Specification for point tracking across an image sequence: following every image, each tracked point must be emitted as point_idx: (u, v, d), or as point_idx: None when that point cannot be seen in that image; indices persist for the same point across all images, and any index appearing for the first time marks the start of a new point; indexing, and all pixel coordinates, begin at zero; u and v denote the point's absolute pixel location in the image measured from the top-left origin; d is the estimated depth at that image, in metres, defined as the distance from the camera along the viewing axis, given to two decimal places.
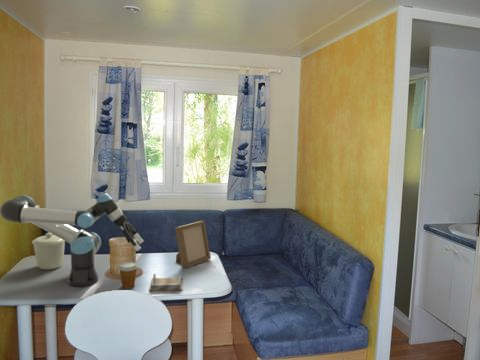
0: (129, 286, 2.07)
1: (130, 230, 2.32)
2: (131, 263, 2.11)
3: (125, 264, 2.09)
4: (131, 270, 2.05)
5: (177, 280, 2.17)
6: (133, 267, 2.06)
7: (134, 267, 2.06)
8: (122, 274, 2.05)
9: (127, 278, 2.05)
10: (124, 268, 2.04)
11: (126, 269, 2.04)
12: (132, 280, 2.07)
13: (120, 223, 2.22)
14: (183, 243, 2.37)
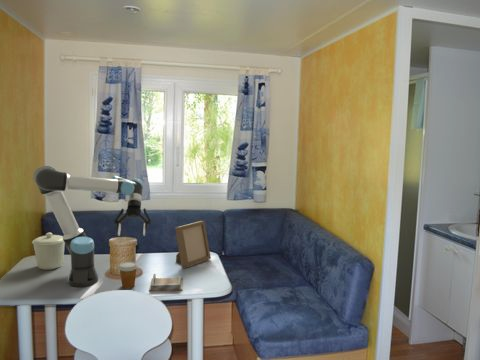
0: (129, 286, 2.07)
1: (125, 218, 2.23)
2: (131, 263, 2.11)
3: (125, 264, 2.09)
4: (131, 270, 2.05)
5: (177, 280, 2.17)
6: (133, 267, 2.06)
7: (134, 267, 2.06)
8: (122, 274, 2.05)
9: (127, 278, 2.05)
10: (124, 268, 2.04)
11: (126, 269, 2.04)
12: (132, 280, 2.07)
13: (140, 207, 2.29)
14: (183, 243, 2.37)
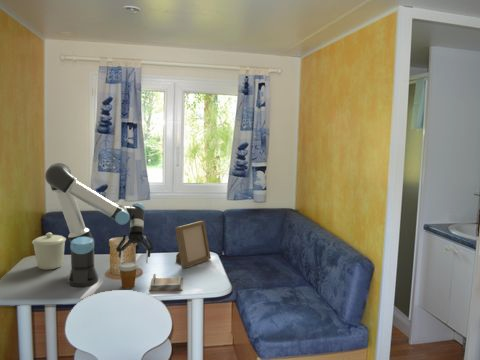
0: (129, 286, 2.07)
1: (127, 245, 2.20)
2: (131, 263, 2.11)
3: (125, 264, 2.09)
4: (131, 270, 2.05)
5: (177, 280, 2.17)
6: (133, 267, 2.06)
7: (134, 267, 2.06)
8: (122, 274, 2.05)
9: (127, 278, 2.05)
10: (124, 268, 2.04)
11: (126, 269, 2.04)
12: (132, 280, 2.07)
13: (142, 233, 2.26)
14: (183, 243, 2.37)
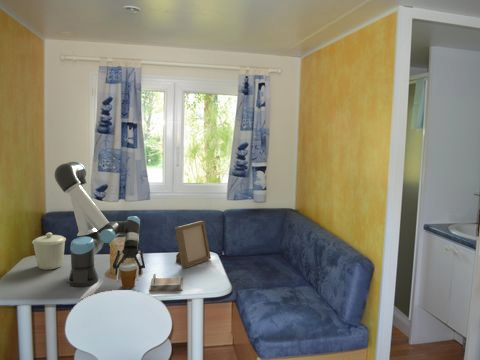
0: (129, 286, 2.07)
1: (123, 261, 2.12)
2: (131, 263, 2.11)
3: (125, 264, 2.09)
4: (131, 270, 2.05)
5: (177, 280, 2.17)
6: (133, 267, 2.06)
7: (134, 267, 2.06)
8: (122, 274, 2.05)
9: (127, 278, 2.05)
10: (124, 267, 2.04)
11: (126, 269, 2.04)
12: (132, 280, 2.07)
13: None
14: (183, 243, 2.37)
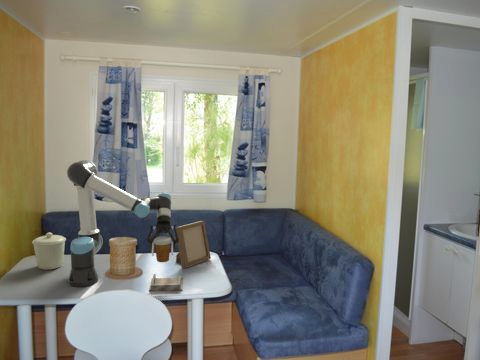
0: (164, 260, 2.07)
1: (156, 236, 2.13)
2: (165, 237, 2.11)
3: (159, 238, 2.09)
4: (166, 244, 2.05)
5: (177, 280, 2.17)
6: (168, 241, 2.06)
7: (169, 241, 2.07)
8: (157, 248, 2.06)
9: (162, 252, 2.06)
10: (159, 241, 2.04)
11: (161, 243, 2.04)
12: (167, 254, 2.08)
13: None
14: (183, 243, 2.37)
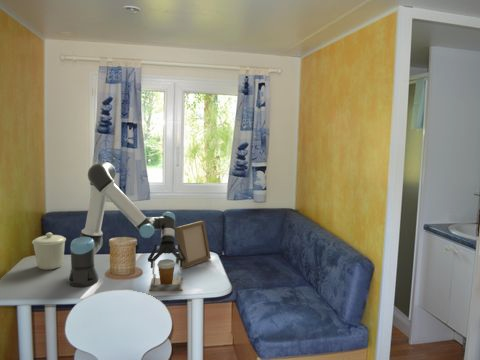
0: (168, 283, 2.09)
1: (159, 255, 2.15)
2: (169, 261, 2.13)
3: (163, 262, 2.12)
4: (170, 268, 2.08)
5: (177, 280, 2.17)
6: (172, 265, 2.08)
7: (173, 265, 2.09)
8: (160, 271, 2.08)
9: (166, 275, 2.08)
10: (163, 265, 2.07)
11: (165, 267, 2.07)
12: (171, 278, 2.10)
13: None
14: (183, 243, 2.37)
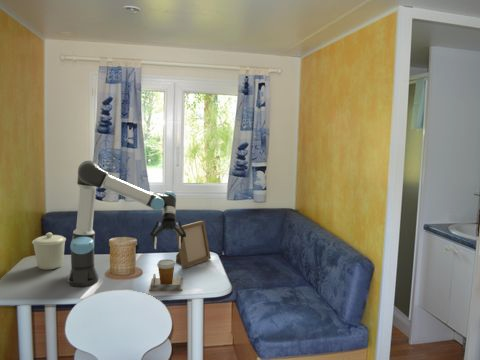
0: (168, 283, 2.10)
1: (160, 231, 2.26)
2: (169, 261, 2.13)
3: (163, 262, 2.12)
4: (170, 267, 2.08)
5: (177, 280, 2.17)
6: (172, 265, 2.08)
7: (173, 265, 2.09)
8: (160, 271, 2.08)
9: (166, 275, 2.08)
10: (163, 265, 2.07)
11: (165, 267, 2.07)
12: (170, 278, 2.10)
13: None
14: (183, 243, 2.37)
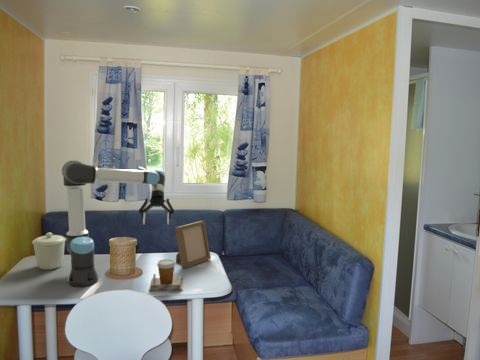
0: (168, 283, 2.10)
1: (149, 208, 2.30)
2: (169, 261, 2.13)
3: (163, 262, 2.12)
4: (170, 267, 2.08)
5: (177, 280, 2.17)
6: (172, 264, 2.08)
7: (173, 264, 2.09)
8: (160, 271, 2.08)
9: (166, 275, 2.08)
10: (163, 265, 2.07)
11: (165, 266, 2.07)
12: (170, 278, 2.10)
13: (163, 197, 2.36)
14: (183, 243, 2.37)
